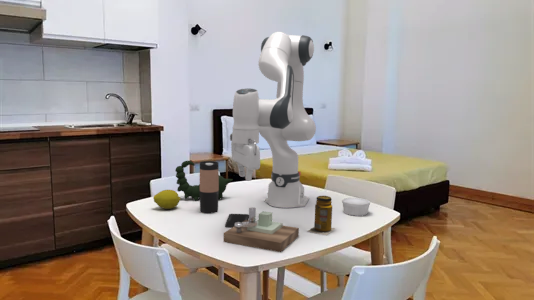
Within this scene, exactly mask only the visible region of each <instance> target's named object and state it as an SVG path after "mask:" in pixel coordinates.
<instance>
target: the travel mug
mask: <svg viewBox="0 0 534 300" xmlns="http://www.w3.org/2000/svg"><path fill="white" fill-rule="evenodd" d="M219 166H220V165H219V162H218V161H214V160H212V161H211V160H209V161H208V160H207V161H206V160H205V161H201V162H199V184H200V198H199V210H200V213H202V214H207V215H208V214H210V215H211V214H216V213H218V211H219V199H218V194H219V175H220V174H219V173H220V172H219Z"/></svg>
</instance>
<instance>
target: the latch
mask: <svg viewBox="0 0 534 300" xmlns="http://www.w3.org/2000/svg"><path fill="white" fill-rule="evenodd" d="M256 210H257V209H256V207H248V215H249V219H248V220H249V222H236V223H235V228H243V227H252V226H257V222H256V221H257V220H256V217H257V216H256V215H257V211H256Z"/></svg>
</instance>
